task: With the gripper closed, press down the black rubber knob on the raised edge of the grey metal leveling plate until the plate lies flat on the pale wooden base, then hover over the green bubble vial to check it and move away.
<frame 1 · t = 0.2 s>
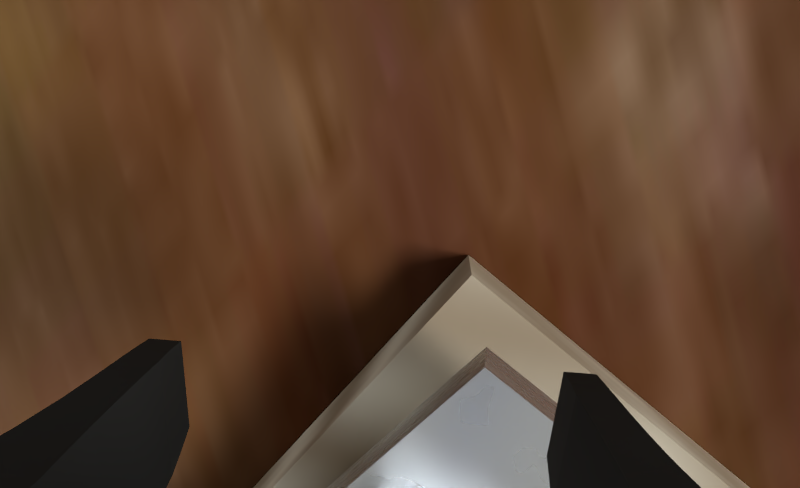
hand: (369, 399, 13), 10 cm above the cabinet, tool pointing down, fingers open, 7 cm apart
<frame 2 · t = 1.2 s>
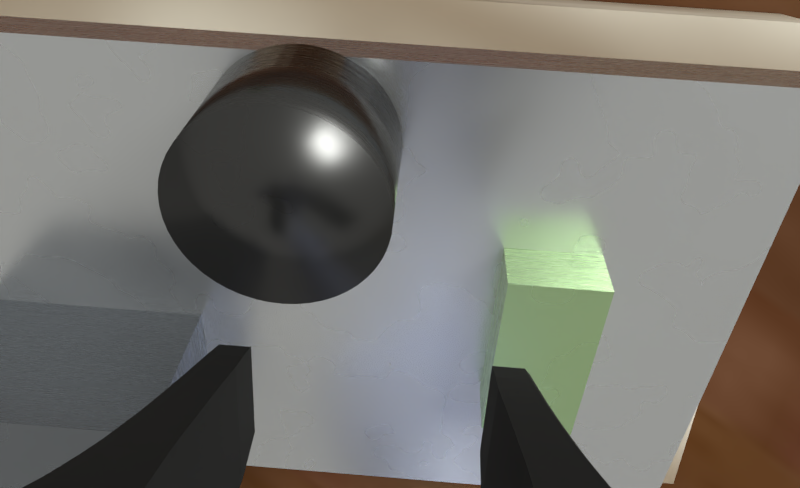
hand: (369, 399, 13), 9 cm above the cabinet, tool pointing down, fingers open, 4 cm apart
leveling base: (333, 232, 22), on the cabinet
leveling plate: (300, 346, 17), point 6 cm above the cabinet, hinge at -10.0°
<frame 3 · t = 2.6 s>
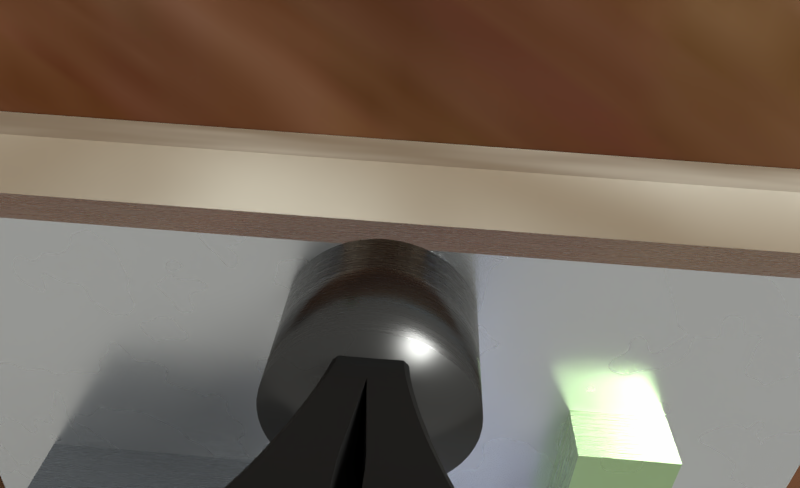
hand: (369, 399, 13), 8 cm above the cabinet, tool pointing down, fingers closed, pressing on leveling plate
leveling base: (386, 362, 22), on the cabinet
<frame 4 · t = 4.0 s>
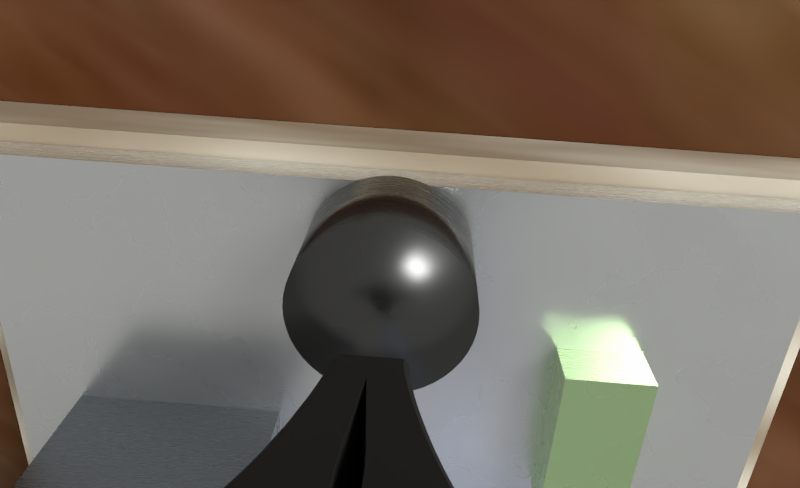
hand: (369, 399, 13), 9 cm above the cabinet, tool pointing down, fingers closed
leveling base: (387, 346, 23), on the cabinet
leveling plate: (376, 438, 18), point 5 cm above the cabinet, hinge at 0.2°
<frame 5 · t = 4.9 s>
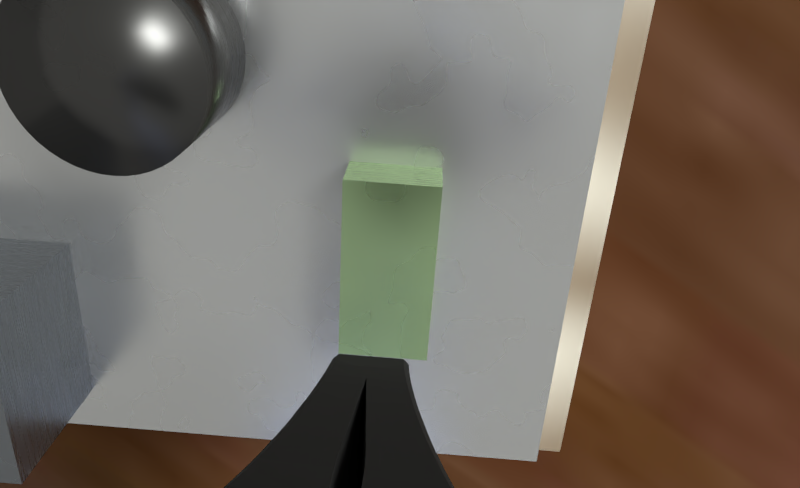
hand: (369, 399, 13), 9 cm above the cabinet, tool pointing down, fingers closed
leveling base: (208, 194, 21), on the cabinet
leveling plate: (152, 256, 17), point 5 cm above the cabinet, hinge at 0.2°
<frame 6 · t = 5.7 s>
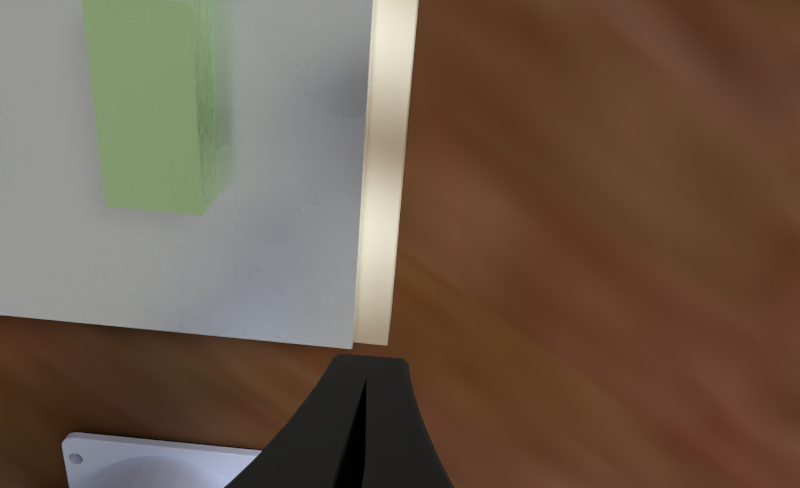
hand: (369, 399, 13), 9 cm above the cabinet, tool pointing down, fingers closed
leveling base: (2, 54, 20), on the cabinet
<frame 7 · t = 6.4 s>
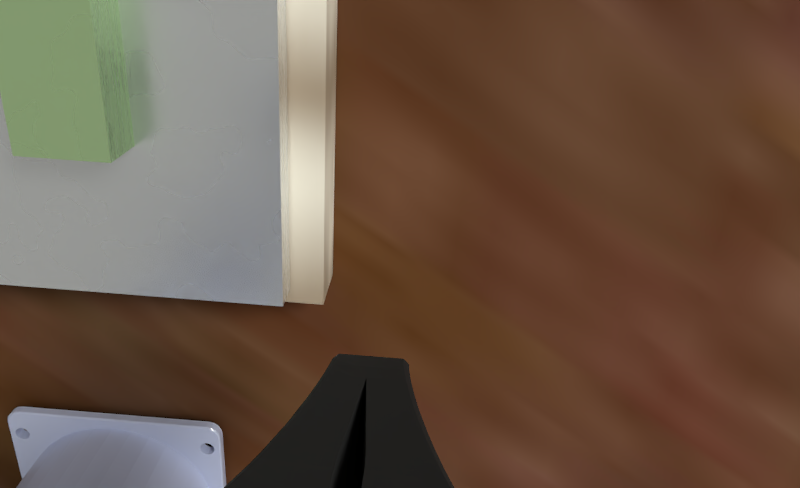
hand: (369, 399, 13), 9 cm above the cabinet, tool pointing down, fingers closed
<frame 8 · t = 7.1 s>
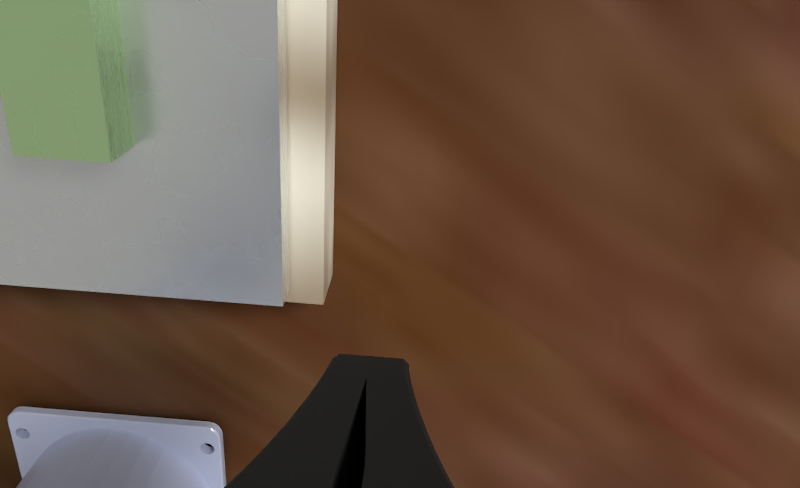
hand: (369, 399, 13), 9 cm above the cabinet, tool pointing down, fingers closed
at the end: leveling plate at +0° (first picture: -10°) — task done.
